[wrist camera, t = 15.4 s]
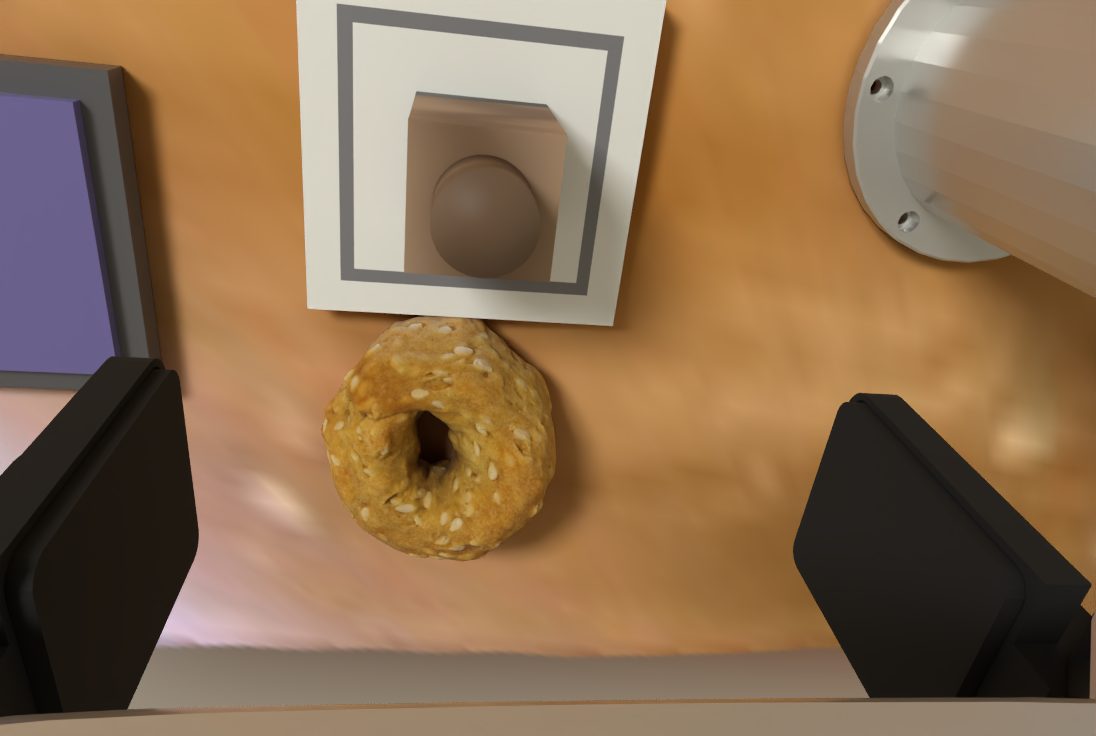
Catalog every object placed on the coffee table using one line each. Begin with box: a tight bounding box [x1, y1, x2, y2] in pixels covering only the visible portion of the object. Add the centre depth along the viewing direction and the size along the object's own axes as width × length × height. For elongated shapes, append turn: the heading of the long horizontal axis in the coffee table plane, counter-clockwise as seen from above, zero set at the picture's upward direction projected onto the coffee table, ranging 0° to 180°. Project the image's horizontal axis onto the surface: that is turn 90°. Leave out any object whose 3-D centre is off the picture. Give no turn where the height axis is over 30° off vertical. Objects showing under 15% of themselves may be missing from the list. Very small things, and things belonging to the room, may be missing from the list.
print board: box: [296, 0, 666, 326], centre depth 28 cm, size 12×12×1 cm
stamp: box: [404, 91, 568, 282], centre depth 24 cm, size 4×4×8 cm
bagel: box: [321, 315, 556, 561], centre depth 32 cm, size 10×11×5 cm
